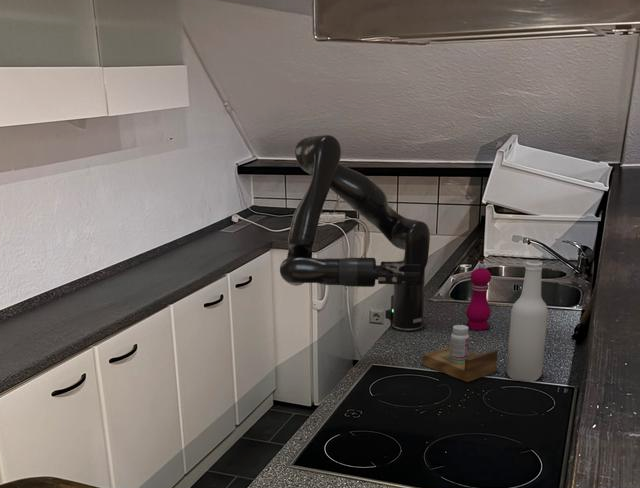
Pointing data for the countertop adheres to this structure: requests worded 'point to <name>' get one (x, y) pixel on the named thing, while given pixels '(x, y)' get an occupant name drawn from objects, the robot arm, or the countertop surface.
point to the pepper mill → (479, 300)
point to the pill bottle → (459, 342)
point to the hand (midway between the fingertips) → (420, 272)
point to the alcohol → (528, 328)
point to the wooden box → (462, 364)
